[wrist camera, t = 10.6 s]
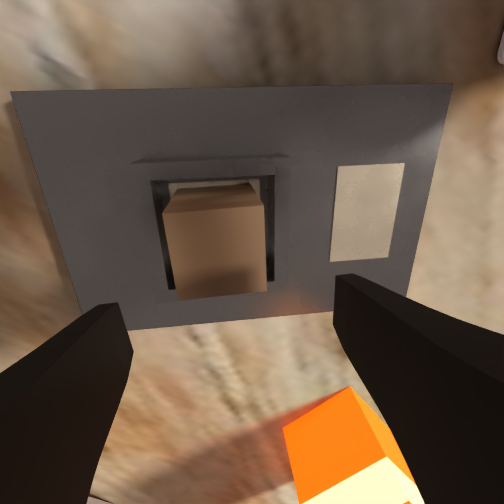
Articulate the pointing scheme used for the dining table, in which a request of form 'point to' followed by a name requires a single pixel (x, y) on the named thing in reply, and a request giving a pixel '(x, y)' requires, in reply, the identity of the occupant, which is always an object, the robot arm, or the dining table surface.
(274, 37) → the dining table surface
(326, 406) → the orange juice
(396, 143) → the gray socket plate
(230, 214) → the walnut block
